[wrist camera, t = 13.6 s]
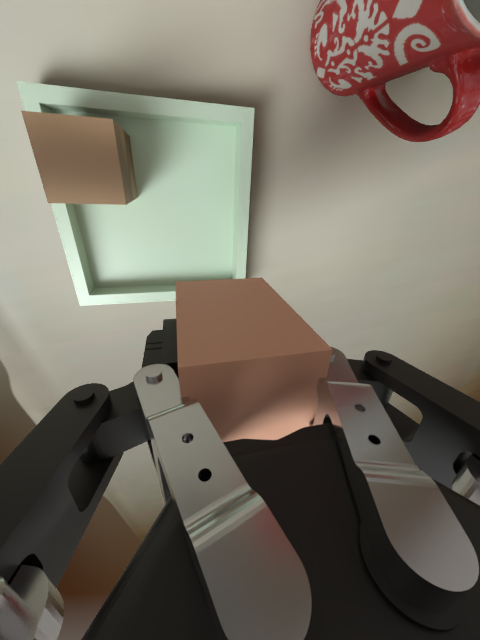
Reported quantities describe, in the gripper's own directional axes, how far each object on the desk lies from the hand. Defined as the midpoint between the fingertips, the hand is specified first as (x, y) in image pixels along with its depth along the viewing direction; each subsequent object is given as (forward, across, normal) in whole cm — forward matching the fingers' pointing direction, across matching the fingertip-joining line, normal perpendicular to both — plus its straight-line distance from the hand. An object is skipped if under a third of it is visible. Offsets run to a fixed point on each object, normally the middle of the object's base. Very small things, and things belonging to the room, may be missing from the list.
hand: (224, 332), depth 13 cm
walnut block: (+16, +7, -8) cm, 19 cm away
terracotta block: (+2, 0, 0) cm, 2 cm away
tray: (+16, +3, -4) cm, 17 cm away
